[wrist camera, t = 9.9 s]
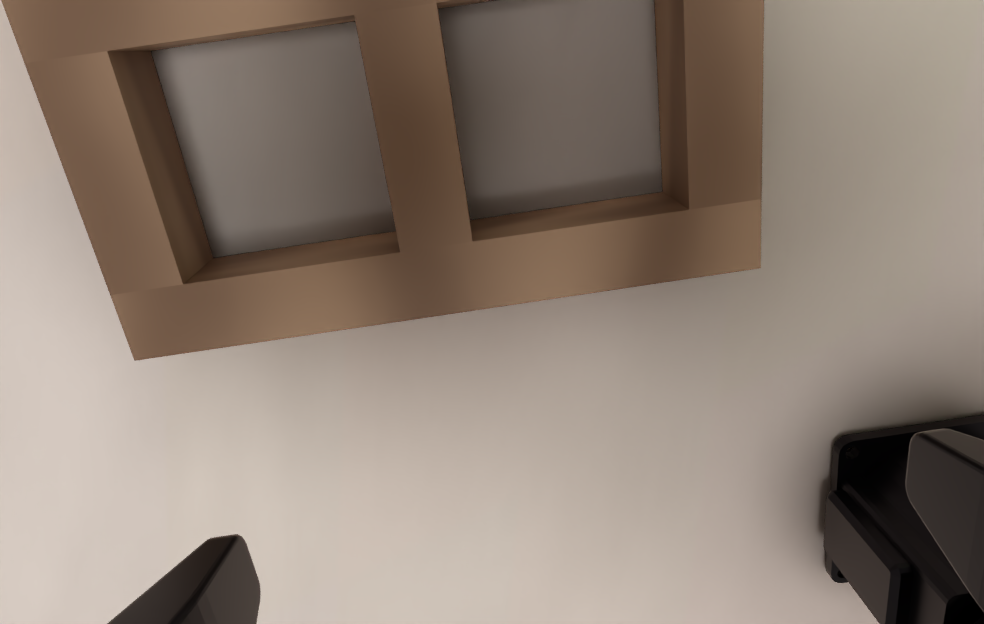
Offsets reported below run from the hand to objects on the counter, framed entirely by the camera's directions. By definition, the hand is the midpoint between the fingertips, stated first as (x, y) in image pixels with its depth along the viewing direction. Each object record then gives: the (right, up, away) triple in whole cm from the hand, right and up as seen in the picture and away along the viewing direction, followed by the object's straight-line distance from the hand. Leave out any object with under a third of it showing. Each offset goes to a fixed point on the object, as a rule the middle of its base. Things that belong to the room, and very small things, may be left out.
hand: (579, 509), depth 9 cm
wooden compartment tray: (-3, +8, +11) cm, 14 cm away
